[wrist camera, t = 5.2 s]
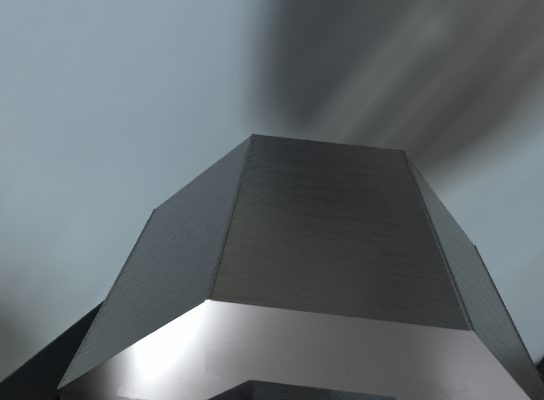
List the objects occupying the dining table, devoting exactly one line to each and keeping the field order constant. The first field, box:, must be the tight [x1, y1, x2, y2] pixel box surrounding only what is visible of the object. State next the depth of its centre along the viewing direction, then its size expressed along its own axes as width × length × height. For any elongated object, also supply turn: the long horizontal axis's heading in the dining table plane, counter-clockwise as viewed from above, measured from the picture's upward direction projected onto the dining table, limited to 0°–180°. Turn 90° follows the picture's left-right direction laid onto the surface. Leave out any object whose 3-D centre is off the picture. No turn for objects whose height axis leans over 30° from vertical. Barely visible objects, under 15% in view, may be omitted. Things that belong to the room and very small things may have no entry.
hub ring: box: [56, 134, 544, 400], centre depth 8 cm, size 6×6×4 cm
